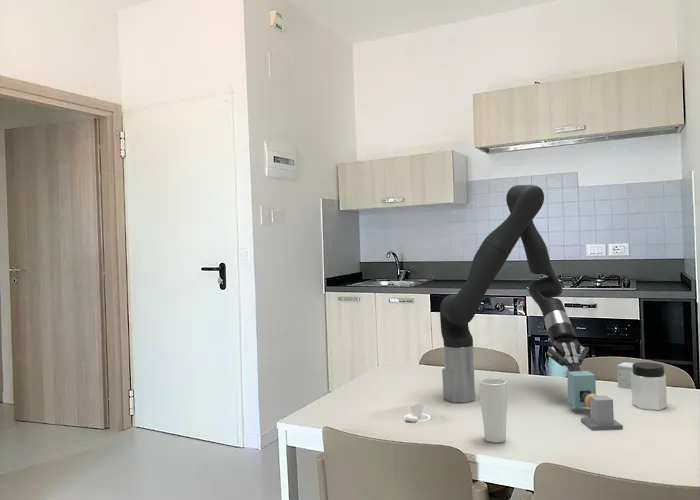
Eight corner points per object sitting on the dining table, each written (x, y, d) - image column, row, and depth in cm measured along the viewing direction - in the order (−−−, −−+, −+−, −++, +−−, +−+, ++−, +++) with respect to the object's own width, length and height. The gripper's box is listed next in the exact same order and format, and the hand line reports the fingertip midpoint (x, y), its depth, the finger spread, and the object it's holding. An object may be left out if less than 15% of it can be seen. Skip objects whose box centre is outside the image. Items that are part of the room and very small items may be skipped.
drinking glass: (478, 436, 143) (475, 378, 143) (503, 434, 144) (501, 376, 144) (486, 445, 137) (484, 385, 136) (513, 443, 137) (511, 383, 137)
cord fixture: (622, 429, 144) (621, 400, 144) (592, 430, 144) (591, 401, 144) (585, 403, 167) (584, 378, 167) (558, 404, 167) (558, 379, 167)
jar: (655, 412, 156) (654, 370, 156) (627, 406, 163) (625, 365, 162) (671, 406, 161) (670, 365, 161) (643, 400, 168) (642, 360, 167)
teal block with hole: (596, 406, 157) (595, 375, 157) (575, 407, 157) (574, 375, 157) (588, 401, 162) (587, 370, 162) (568, 402, 162) (567, 371, 162)
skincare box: (617, 387, 183) (616, 364, 183) (624, 383, 187) (624, 361, 187) (636, 390, 178) (635, 367, 178) (643, 386, 183) (643, 363, 182)
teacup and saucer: (411, 425, 155) (410, 411, 155) (396, 418, 162) (395, 404, 162) (436, 420, 159) (436, 406, 159) (420, 413, 166) (420, 399, 166)
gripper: (541, 322, 172) (557, 370, 160) (583, 320, 172) (603, 368, 160) (536, 336, 177) (551, 384, 165) (577, 334, 177) (595, 382, 165)
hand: (576, 376), depth 162 cm, fingers closed
